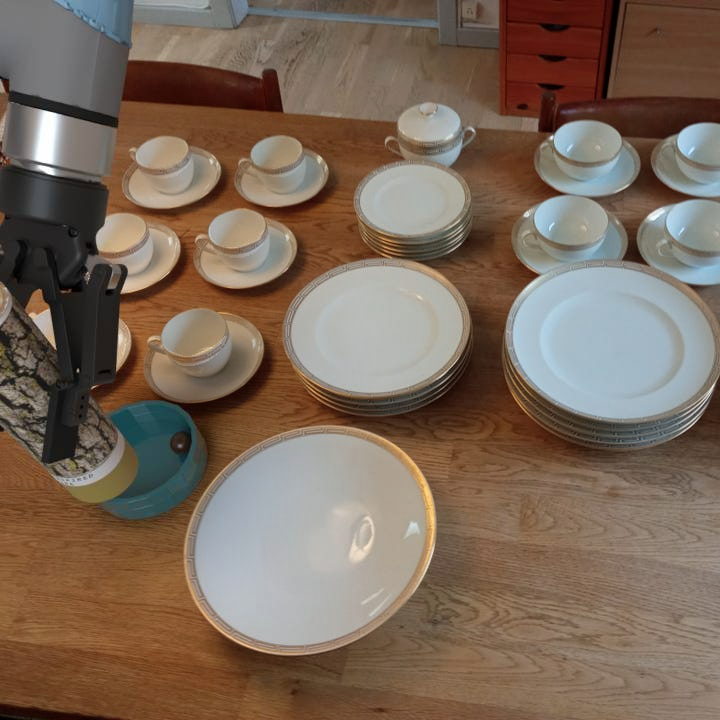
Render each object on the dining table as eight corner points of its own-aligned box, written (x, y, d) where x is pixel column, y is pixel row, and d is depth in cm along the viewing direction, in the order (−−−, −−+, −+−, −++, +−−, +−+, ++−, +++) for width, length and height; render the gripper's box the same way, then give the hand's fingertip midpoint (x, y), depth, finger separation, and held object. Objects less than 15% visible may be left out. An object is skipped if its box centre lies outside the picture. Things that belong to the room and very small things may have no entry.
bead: (169, 455, 92) (161, 443, 90) (183, 436, 94) (174, 423, 91) (190, 462, 91) (181, 450, 89) (203, 442, 93) (195, 430, 91)
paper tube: (137, 500, 71) (-4, 340, 51) (64, 511, 70) (-107, 353, 50) (145, 440, 75) (18, 270, 55) (76, 450, 74) (-77, 281, 54)
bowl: (67, 499, 90) (49, 482, 86) (136, 407, 98) (123, 388, 94) (166, 534, 87) (151, 518, 83) (229, 436, 95) (218, 417, 91)
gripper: (194, 203, 59) (151, 469, 63) (-1, 154, 63) (-30, 405, 67) (128, 193, 52) (83, 494, 56) (-87, 138, 56) (-114, 421, 60)
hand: (21, 445), depth 61 cm, fingers closed on paper tube, 7 cm apart
